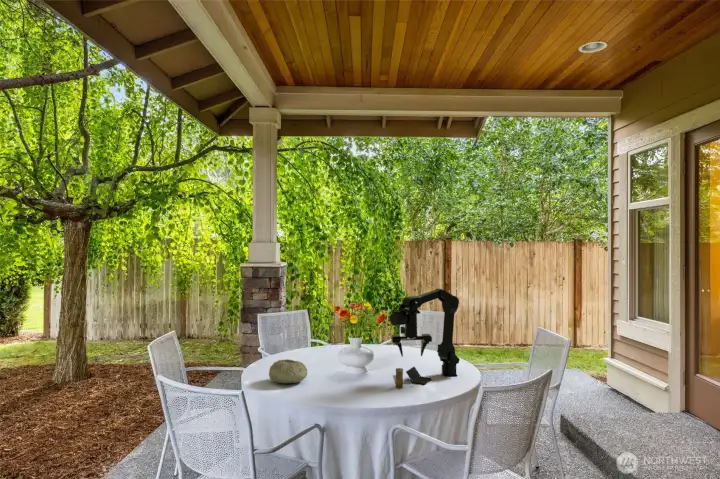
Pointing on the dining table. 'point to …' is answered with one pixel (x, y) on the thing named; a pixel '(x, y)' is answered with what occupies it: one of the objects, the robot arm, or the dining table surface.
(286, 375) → the olive green stone
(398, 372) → the tapered tan cylinder
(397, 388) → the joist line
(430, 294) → the robot arm
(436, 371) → the dining table surface
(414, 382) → the handheld gaming console
